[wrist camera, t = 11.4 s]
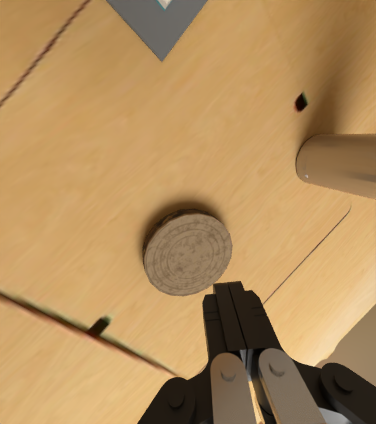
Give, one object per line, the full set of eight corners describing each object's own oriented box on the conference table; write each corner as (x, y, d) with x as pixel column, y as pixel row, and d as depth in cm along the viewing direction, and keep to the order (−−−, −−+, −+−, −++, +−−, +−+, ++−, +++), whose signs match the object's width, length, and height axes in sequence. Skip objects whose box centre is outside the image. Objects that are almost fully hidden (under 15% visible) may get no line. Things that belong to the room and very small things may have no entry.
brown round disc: (187, 189, 35) (193, 193, 32) (239, 241, 42) (247, 249, 39) (122, 258, 35) (122, 268, 32) (184, 298, 42) (189, 309, 39)
